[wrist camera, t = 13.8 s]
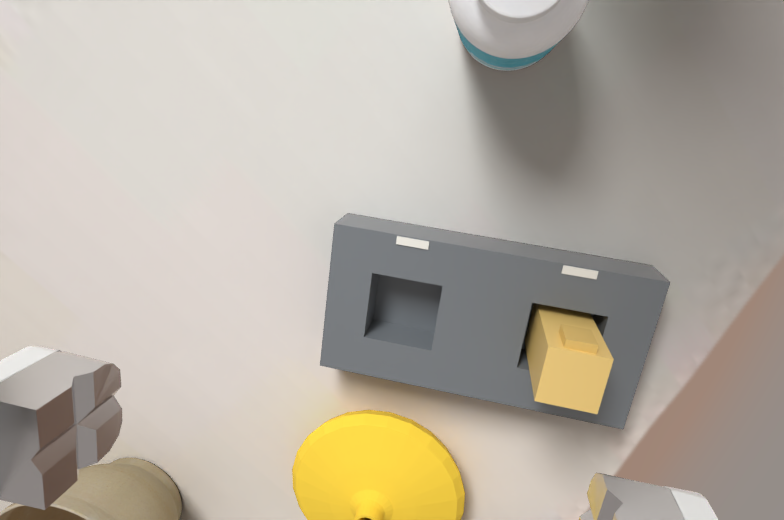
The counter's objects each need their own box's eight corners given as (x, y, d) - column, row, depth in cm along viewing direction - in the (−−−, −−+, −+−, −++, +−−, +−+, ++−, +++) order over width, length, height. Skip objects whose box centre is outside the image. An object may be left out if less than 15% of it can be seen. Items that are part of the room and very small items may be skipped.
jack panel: (347, 213, 42) (334, 223, 38) (652, 265, 39) (670, 282, 35) (333, 344, 46) (319, 366, 42) (610, 401, 43) (623, 430, 39)
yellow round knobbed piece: (481, 417, 45) (481, 470, 39) (449, 553, 50) (443, 622, 44) (311, 378, 47) (283, 422, 41) (295, 513, 52) (268, 572, 45)
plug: (536, 289, 41) (550, 338, 32) (588, 299, 40) (616, 350, 32) (524, 341, 42) (534, 401, 34) (574, 351, 42) (597, 414, 33)
